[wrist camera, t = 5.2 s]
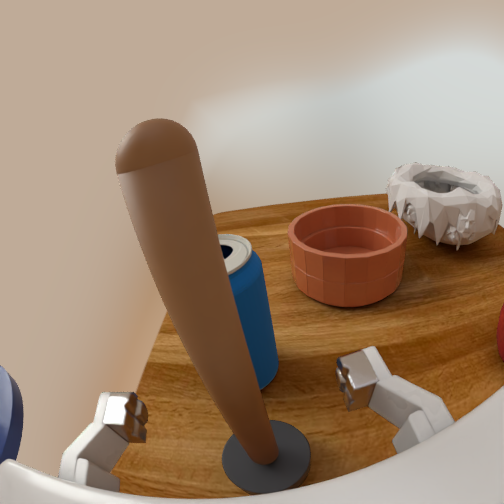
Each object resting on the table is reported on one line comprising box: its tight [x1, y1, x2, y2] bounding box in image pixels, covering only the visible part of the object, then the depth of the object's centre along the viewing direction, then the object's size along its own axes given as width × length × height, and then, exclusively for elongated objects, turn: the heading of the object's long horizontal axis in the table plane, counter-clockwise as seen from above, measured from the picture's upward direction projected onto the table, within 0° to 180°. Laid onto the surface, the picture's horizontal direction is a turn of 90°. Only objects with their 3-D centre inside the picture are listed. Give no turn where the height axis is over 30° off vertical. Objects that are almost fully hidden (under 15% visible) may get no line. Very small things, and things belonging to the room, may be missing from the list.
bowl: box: [386, 162, 502, 250], centre depth 34 cm, size 21×20×10 cm
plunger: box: [115, 119, 311, 495], centre depth 10 cm, size 6×6×20 cm
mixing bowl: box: [288, 204, 407, 307], centre depth 31 cm, size 14×14×6 cm
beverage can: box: [218, 234, 279, 390], centre depth 20 cm, size 6×6×12 cm
